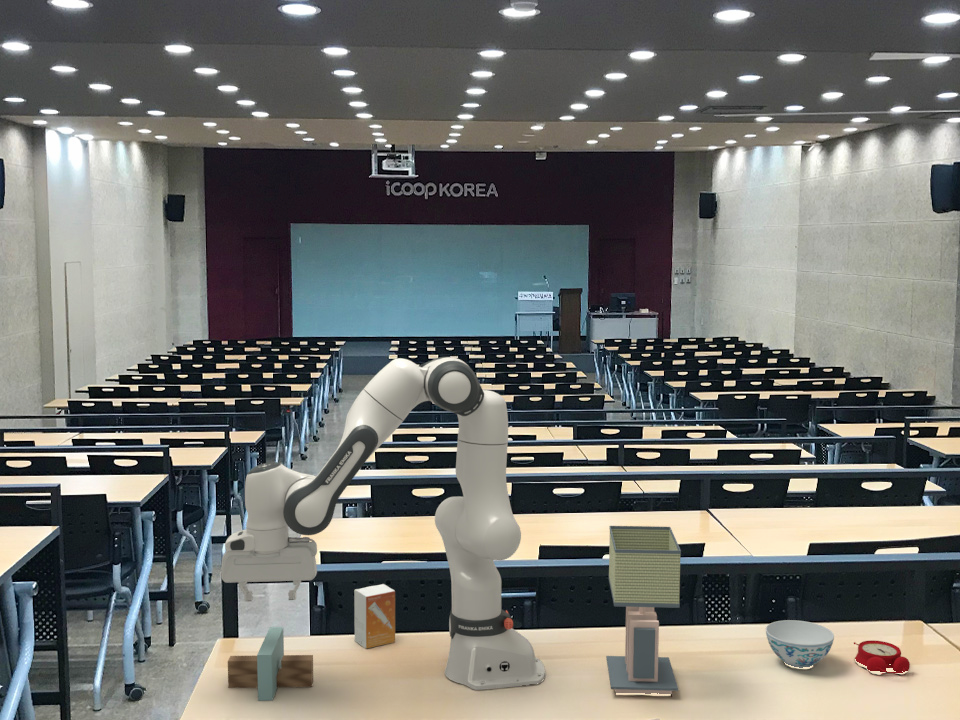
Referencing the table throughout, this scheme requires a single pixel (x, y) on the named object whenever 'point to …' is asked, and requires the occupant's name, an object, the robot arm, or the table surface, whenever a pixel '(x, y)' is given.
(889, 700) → the table surface
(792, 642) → the chinaware
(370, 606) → the small box
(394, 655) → the table surface
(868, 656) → the alarm clock
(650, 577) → the desk lamp
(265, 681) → the teal plate
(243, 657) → the walnut notched block
